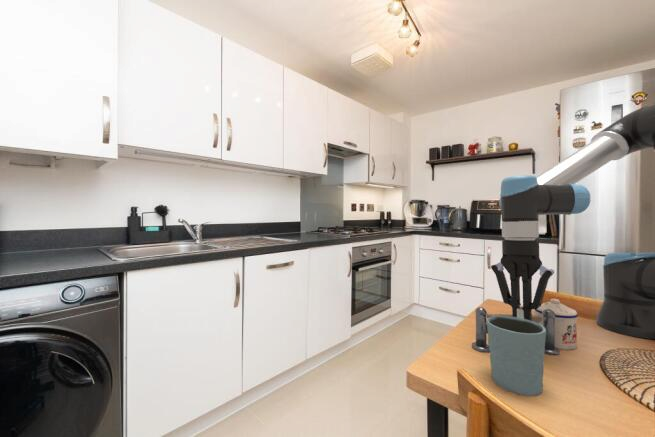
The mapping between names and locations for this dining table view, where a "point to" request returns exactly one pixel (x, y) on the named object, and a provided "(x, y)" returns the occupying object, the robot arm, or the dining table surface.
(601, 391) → the dining table surface
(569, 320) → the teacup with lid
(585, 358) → the dining table surface
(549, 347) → the hinge post
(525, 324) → the blue-grey pot
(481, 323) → the post
